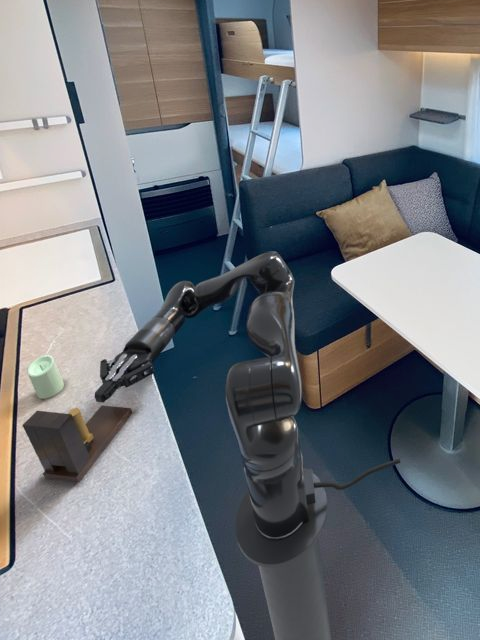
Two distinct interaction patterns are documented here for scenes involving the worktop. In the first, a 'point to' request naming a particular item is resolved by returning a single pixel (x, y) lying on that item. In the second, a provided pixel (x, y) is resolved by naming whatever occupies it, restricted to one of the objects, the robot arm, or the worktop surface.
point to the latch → (72, 440)
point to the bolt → (81, 425)
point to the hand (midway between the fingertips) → (98, 399)
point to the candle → (45, 377)
